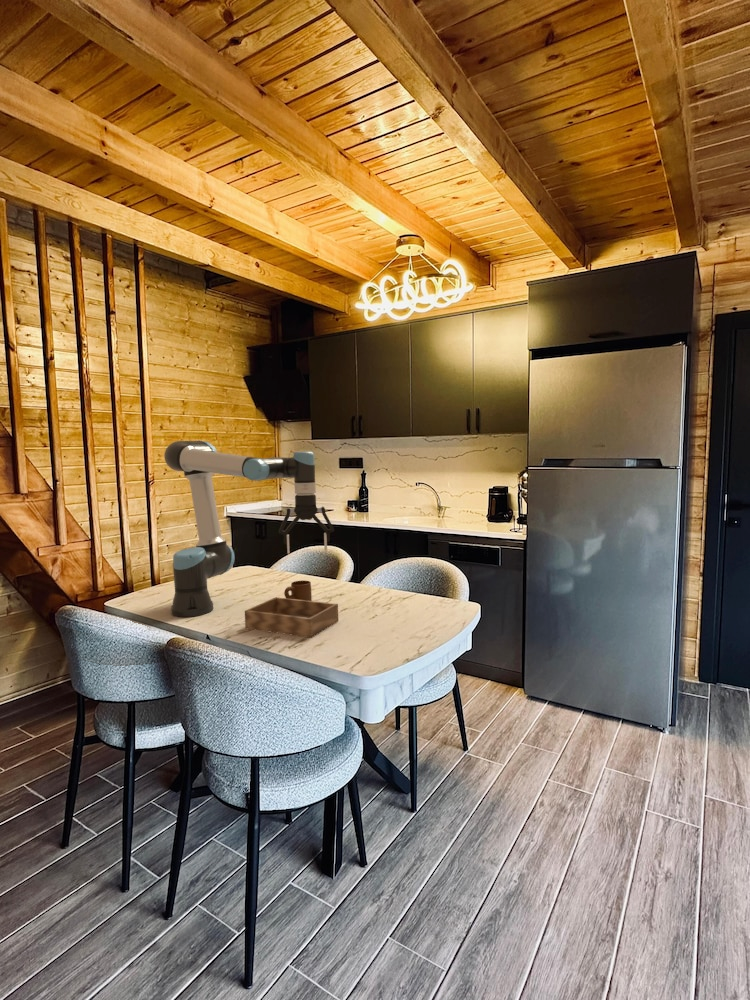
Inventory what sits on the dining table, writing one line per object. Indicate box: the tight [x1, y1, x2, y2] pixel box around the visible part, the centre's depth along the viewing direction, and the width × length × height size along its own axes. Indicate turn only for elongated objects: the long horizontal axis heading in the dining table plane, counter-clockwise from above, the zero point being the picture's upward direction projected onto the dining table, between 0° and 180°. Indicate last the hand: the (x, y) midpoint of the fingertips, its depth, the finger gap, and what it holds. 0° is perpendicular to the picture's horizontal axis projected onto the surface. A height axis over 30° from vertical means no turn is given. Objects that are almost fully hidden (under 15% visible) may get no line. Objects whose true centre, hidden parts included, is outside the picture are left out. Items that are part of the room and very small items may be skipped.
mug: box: [283, 580, 313, 601], centre depth 204 cm, size 12×8×9 cm, turn 141°
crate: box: [244, 596, 339, 638], centre depth 185 cm, size 26×18×6 cm
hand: (307, 552), depth 198 cm, fingers open, 13 cm apart
